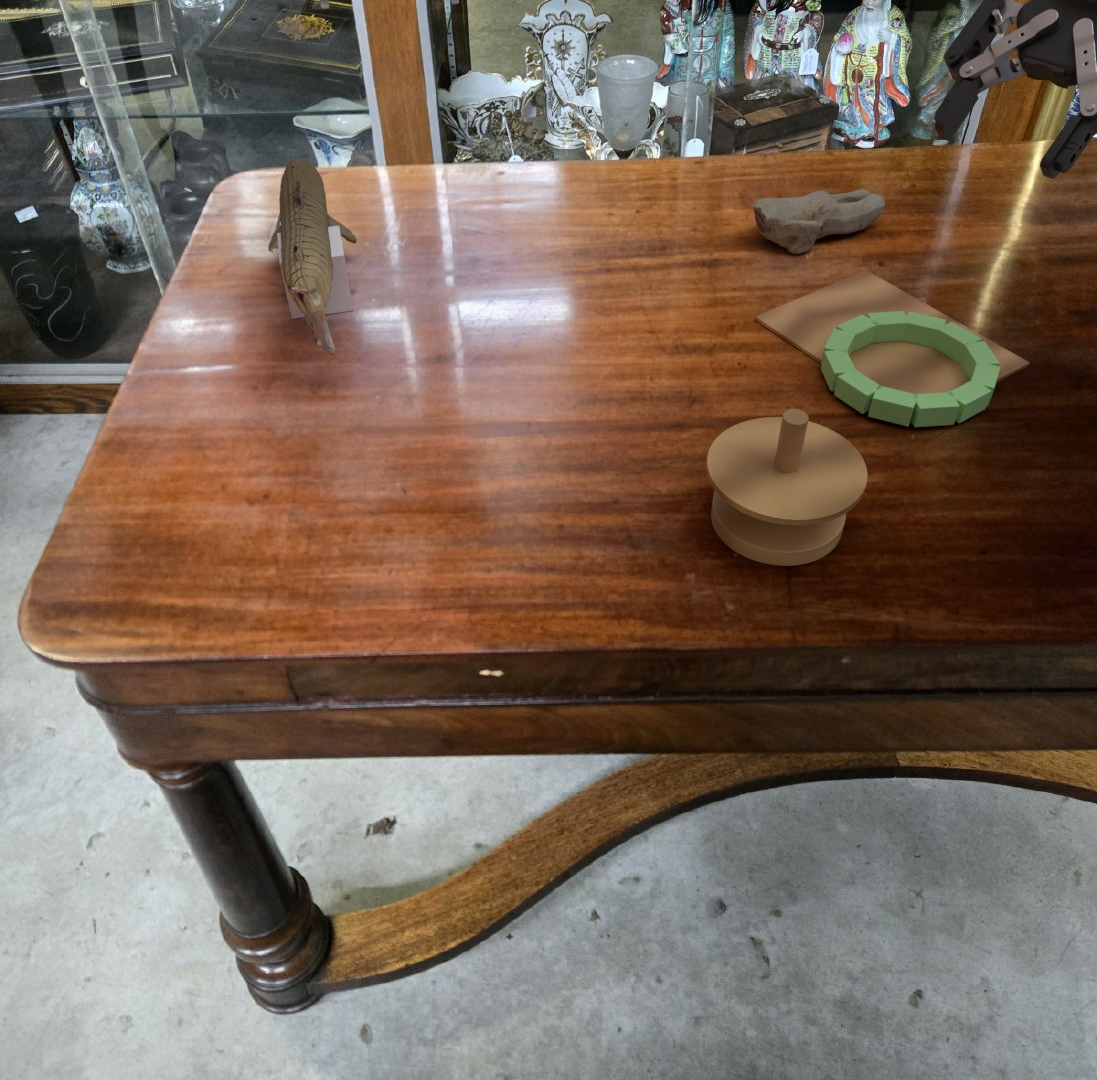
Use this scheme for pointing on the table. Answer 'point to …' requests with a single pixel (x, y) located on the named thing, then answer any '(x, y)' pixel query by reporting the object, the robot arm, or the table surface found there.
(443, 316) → the table surface
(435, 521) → the table surface
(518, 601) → the table surface
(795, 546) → the stand
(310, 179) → the wood carving
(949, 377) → the mat
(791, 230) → the sculpture
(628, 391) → the table surface
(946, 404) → the ring
